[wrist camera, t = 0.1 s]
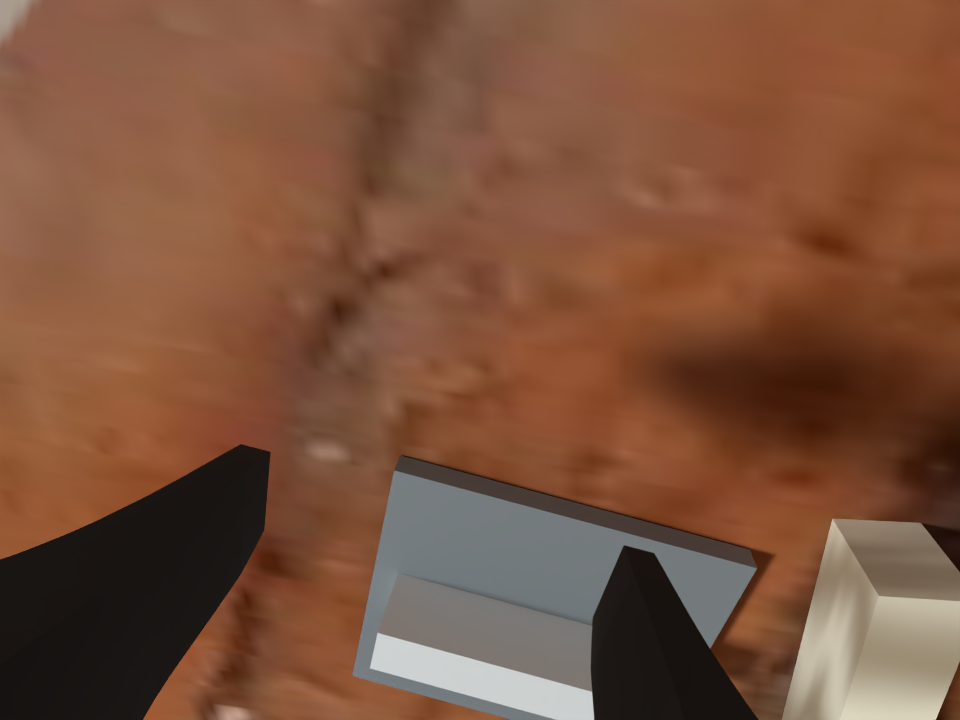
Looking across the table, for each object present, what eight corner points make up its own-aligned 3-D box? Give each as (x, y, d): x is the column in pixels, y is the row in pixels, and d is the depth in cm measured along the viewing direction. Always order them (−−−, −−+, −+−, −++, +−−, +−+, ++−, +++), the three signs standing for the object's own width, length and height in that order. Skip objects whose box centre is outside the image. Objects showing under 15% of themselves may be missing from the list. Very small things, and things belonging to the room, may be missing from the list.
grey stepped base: (643, 735, 29) (654, 830, 25) (359, 657, 29) (329, 739, 25) (749, 549, 23) (783, 635, 20) (400, 455, 24) (370, 523, 20)
